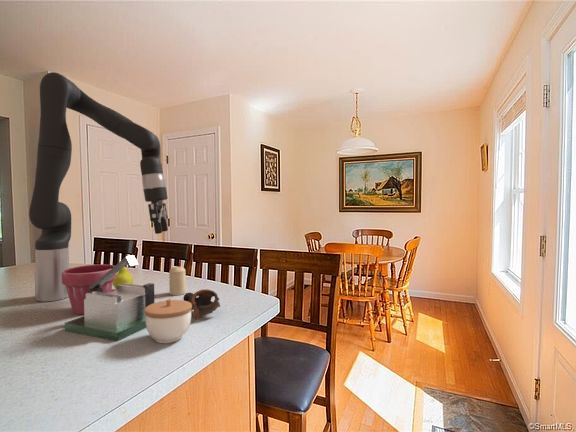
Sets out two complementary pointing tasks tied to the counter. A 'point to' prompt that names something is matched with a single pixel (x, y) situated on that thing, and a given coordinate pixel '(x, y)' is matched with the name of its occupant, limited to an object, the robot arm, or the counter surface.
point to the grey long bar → (115, 271)
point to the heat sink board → (114, 312)
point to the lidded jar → (168, 320)
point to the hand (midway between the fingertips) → (161, 232)
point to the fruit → (123, 278)
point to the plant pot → (84, 283)
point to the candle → (177, 280)
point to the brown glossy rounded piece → (202, 302)
